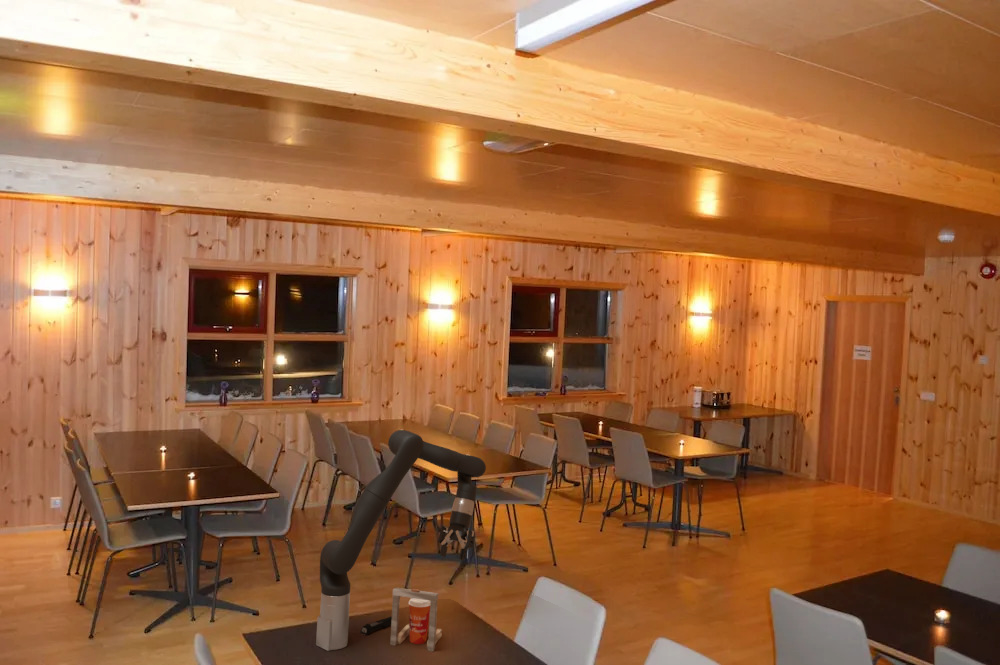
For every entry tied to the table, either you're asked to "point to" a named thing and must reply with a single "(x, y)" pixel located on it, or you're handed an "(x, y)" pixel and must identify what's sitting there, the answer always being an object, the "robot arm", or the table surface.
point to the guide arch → (398, 638)
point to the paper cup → (418, 620)
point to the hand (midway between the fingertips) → (452, 558)
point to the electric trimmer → (376, 625)
